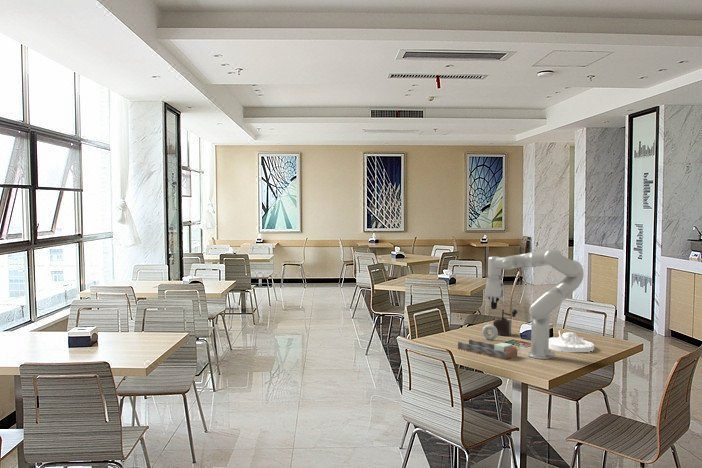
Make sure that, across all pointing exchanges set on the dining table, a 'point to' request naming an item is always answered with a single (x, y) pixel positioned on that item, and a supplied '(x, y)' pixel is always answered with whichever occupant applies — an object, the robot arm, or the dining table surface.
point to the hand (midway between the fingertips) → (493, 308)
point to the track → (488, 349)
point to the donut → (488, 336)
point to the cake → (570, 343)
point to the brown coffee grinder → (504, 324)
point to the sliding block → (502, 346)
